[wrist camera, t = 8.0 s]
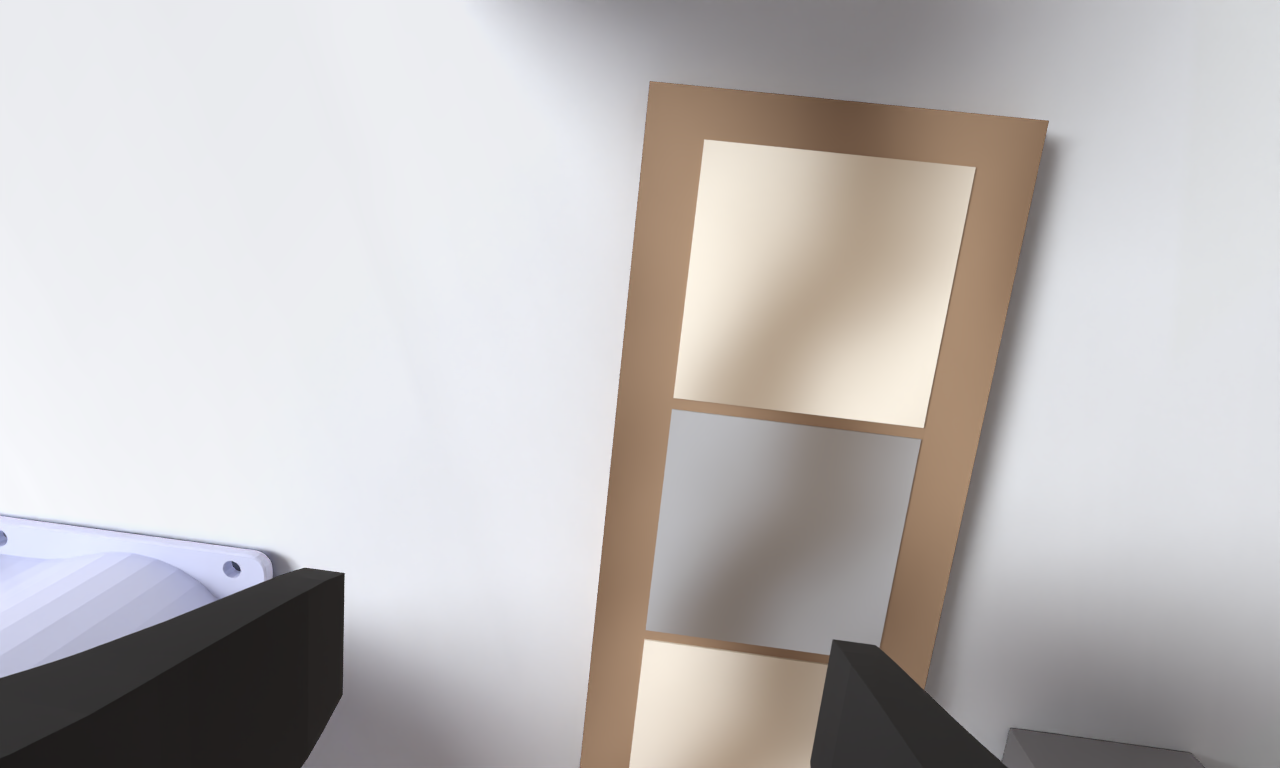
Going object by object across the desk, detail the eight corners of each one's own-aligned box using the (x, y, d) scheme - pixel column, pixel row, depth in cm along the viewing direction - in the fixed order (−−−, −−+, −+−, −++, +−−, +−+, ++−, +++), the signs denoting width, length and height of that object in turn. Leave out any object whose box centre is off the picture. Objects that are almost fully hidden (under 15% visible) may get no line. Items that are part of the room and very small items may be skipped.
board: (559, 991, 24) (553, 1026, 23) (652, 89, 18) (649, 80, 17) (834, 1036, 23) (841, 1073, 22) (1028, 126, 17) (1050, 120, 16)
